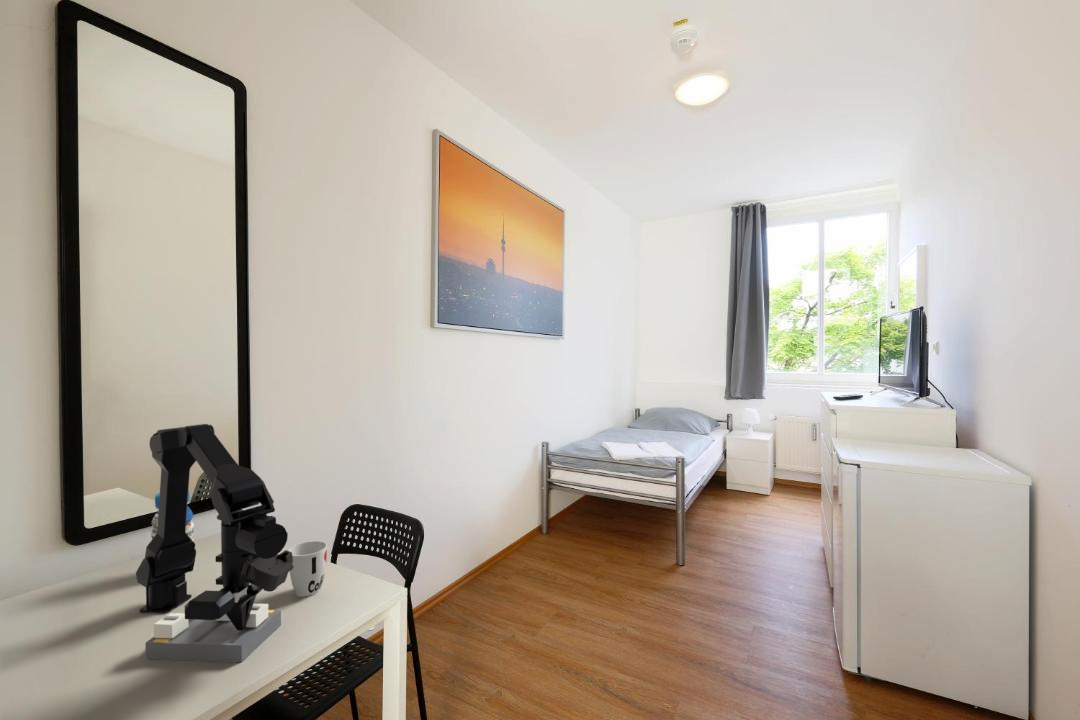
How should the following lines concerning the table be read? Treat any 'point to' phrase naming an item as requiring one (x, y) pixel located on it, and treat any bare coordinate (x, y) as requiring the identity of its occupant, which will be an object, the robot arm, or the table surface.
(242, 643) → the console
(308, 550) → the cup
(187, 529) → the beverage bottle
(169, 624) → the switch near
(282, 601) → the table surface
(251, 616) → the switch far
